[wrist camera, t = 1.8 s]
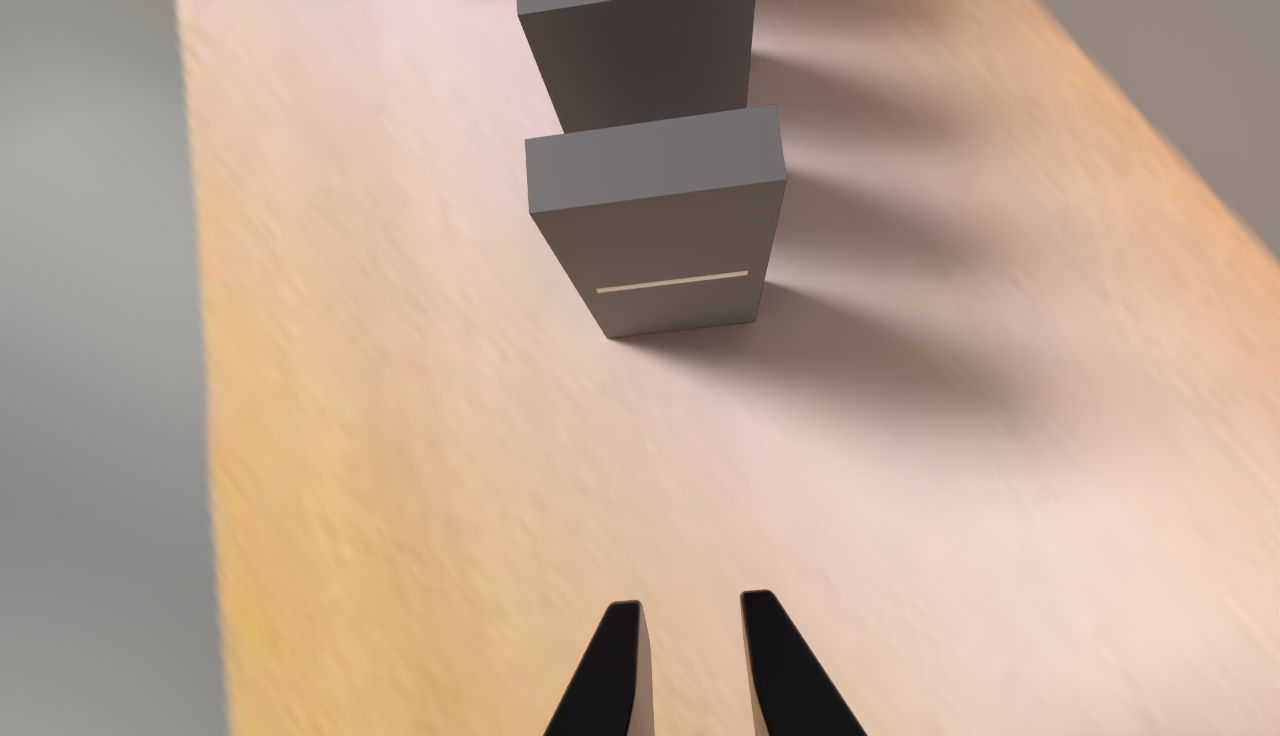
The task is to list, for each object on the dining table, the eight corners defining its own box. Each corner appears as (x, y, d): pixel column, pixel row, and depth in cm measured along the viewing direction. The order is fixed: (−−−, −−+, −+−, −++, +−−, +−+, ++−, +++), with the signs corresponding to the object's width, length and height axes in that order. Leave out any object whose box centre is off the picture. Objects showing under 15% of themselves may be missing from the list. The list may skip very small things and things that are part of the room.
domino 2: (754, 322, 23) (787, 180, 13) (607, 339, 23) (529, 214, 13) (749, 275, 23) (775, 103, 13) (603, 293, 23) (525, 138, 14)
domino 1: (738, 197, 24) (756, -22, 14) (597, 216, 24) (517, 15, 14) (733, 155, 24) (747, -89, 14) (593, 173, 24) (513, -50, 15)
